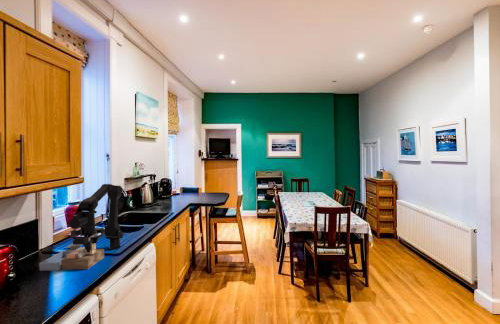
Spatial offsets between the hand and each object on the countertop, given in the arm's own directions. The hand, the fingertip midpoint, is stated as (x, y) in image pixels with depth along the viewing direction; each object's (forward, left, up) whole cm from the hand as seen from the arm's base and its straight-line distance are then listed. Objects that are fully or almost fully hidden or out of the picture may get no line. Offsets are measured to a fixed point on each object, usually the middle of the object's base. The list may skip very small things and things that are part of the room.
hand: (90, 251), depth 137 cm
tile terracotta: (+3, -7, -2) cm, 8 cm away
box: (0, -17, -7) cm, 18 cm away
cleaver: (-23, -28, -7) cm, 37 cm away
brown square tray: (0, -4, -7) cm, 8 cm away
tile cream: (-3, -7, -2) cm, 8 cm away
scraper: (0, 0, -1) cm, 1 cm away
